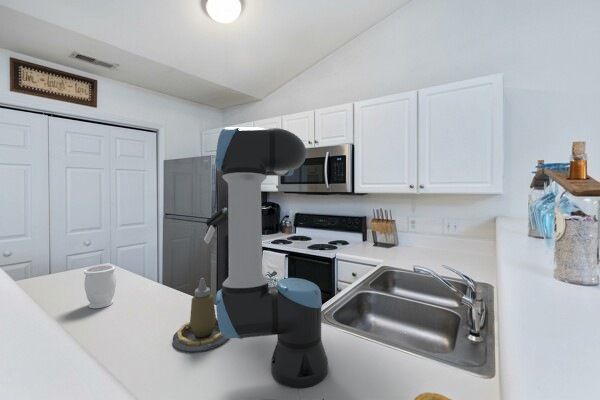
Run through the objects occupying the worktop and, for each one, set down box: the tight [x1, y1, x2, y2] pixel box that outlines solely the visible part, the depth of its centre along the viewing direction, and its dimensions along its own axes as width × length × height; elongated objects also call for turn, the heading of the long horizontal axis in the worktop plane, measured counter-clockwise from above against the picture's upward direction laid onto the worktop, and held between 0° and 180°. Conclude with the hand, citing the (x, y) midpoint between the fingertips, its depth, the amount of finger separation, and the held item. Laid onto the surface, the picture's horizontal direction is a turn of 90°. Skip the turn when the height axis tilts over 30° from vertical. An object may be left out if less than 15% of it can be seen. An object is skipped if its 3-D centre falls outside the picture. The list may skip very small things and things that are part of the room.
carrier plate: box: [172, 317, 230, 354], centre depth 91 cm, size 18×18×2 cm
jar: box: [83, 264, 117, 310], centre depth 115 cm, size 11×10×15 cm
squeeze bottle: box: [189, 277, 217, 337], centre depth 91 cm, size 8×8×18 cm
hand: (222, 242), depth 103 cm, fingers open, 13 cm apart
